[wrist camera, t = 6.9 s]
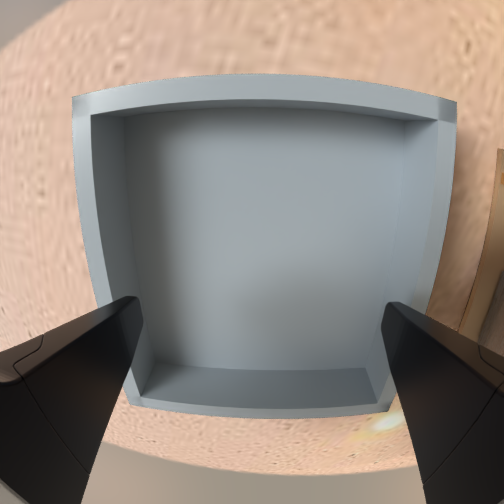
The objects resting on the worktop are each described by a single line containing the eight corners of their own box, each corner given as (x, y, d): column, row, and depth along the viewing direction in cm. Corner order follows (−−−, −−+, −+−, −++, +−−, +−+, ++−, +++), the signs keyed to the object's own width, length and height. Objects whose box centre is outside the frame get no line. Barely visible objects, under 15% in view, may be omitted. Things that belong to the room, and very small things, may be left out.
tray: (371, 367, 16) (387, 411, 13) (149, 362, 16) (129, 404, 13) (413, 106, 11) (456, 101, 8) (116, 102, 11) (71, 97, 8)
